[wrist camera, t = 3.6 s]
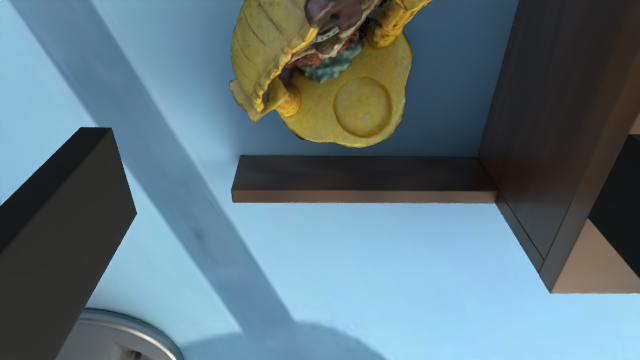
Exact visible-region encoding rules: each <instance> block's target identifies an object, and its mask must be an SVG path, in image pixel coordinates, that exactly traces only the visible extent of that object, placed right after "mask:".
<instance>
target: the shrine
mask: <svg viewBox="0 0 640 360" xmlns="http://www.w3.org/2000/svg"><path fill="white" fill-rule="evenodd" d="M430 1H431V0H244V4H243V6H242V8H241V10H240V13H239V16H238V18H237V22H236V23H237V24H236V26H235V28H234V32H233V37H232V45H231V53H232V55H231V59H232V66H233V70H234V73H235V75H236V78H237V79H234V80H231V81H230V82H229V87H230V88H229V89H230V90H231V91H232V92H233V95H234V99H235V101H236V103H237V104H238V105H239V106H241V107H242V108H243V109H244V110H245V111H246V112H247V113H248V115H249V118H250V120H251V121H252V122H256V121H258V120H260V119H261V117H262V116H264V115H265V114H267V113H268V112H269V111H272V110H273V109H275V110H276V111H277V112H278V114H279V115H280V117H281V118H282V120H283V122H284V124H285V125H286V127H287V128H289V129H290V130H291V131H292V132H294V133H295V134H296V136H297V137H299V138H300V139H303V140H308V141H313V142H321V143H324V142H325V143H327V142H329V143H331V142H334V143H337V144H340V145H343V146H346V147H349V148H351V147H357V148H364V147H367V146H369V145H373V144H374V145H376V143H378V142H380V141H384V140H385V139H387V138H388V137H389V136H390V135H391V134H392V133H393V132H394V130H395V129H396V127H397V126H398V124H399V123H400V121H401V120H402V118H403V115H404V107H405V105H406V102H405V100H406V94H405V93H406V89H405V86H406V83H407V81H408V80H407V78H408V74H409V72H410V68H411V65H412V55H413V51H412V48H411V45H410V43H409V41H408V40H407V38H406V36H405V34H404V31H403V28H404V25H405V24H406V23H408V22H409V21H410V20H411V19H412V18H413V16H414V15H415V14H416V13H417V12H418V10H420V8H422V7H425V6H426V5H427V4H428V2H430ZM367 16H368V17H369V24H368V25H365V24H364V23H363V22H364V21H365V19H366V17H367ZM358 27H360V28H361V29H362V30H363V38H362V39H361V38H360V37H359V33H360V32H359V30H358ZM304 55H305V56H304Z"/></svg>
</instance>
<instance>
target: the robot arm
mask: <svg viewBox="0 0 640 360" xmlns="http://www.w3.org/2000/svg"><path fill="white" fill-rule="evenodd" d="M136 215H137V212H136V208H135V205H134V202H133V198H132V195H131V191H130V188H129V185H128V181H127V178H126V174H125V171H124V168H123V164H122V161H121V158H120V154H119V151H118V147H117V144H116V141H115V137H114V134H113V130H112V128H100V127H80V128H79V129H78V130H77V131H76V132H75V133H74V134H73V135H72V136H71V137H70V138H69V139H68V140H67V141H66V142H65V143H64V144H63V145H62V146H61V147H60V148H59V149H58V150H57V151H56V152H55V153H54V154H53V155H52V156H51V157H50V158H49V159H48V160H47V161H46V162H45V163H44V164H43V165H42V166H41V167H40V168H39V169H38V170H37V171H36V172H35V173H34V174H33V175H32V176H31V177H30V178H29V179H28V180H27V181H26V182H25V183H24V184H22V185H21V186H20V187H19V188H18V189H17V190H16V191H15V192H14V193H13V194H12V195H11V196H10V197H9V198H8V199H7V200H6V201H5V202H4V203H3V204H2V205H1V206H0V360H184V357H183V355H182V353H181V351H180V350H179V348H178V347H177V346H176V345H175V343H174V342H173V341H172V340H171V339H169V338H168V337H167V336H166V335H165V334H163V333H162V332H160V331H159V330H157V329H156V328H154V327H152V326H150V325H148V324H146V323H144V322H142V321H139V320H137V319H134V318H131V317H129V316H125V315H122V314H118V313H113V312H108V311H102V310H92V309H84V307H85V306H86V304H87V302H88V300H89V298H90V297H91V295H92V293H93V291H94V289H95V288H96V286H97V284H98V282H99V281H100V279H101V277H102V275H103V273H104V272H105V270H106V268H107V266H108V265H109V263H110V261H111V259H112V257H113V256H114V254H115V252H116V250H117V248H118V247H119V245H120V243H121V241H122V240H123V238H124V236H125V234H126V232H127V231H128V229H129V227H130V225H131V224H132V222H133V220H134V218H135V216H136ZM587 218H588V219H589V220H590V221H591V222H592V224H593V225H594V226H595V227H596V228H597V229H598V231H599V232H600V233H601V234H602V235H603V237H604V238H605V239H606V240H607V241H608V242H609V244H610V245H611V246H612V247H613V248H614V249H615V251H616V252H617V253H618V254H619V255H620V256H621V258H622V259H623V260H624V261H625V262H626V263H627V265H628V266H629V267H630V268H631V269H632V271H633V272H634V273H635V274H636V275H637V276H638V278H639V279H640V134H628V136H627V138H626V140H625V142H624V144H623V146H622V148H621V150H620V152H619V154H618V156H617V158H616V160H615V162H614V164H613V166H612V168H611V170H610V172H609V174H608V176H607V178H606V180H605V182H604V184H603V186H602V188H601V190H600V192H599V194H598V196H597V198H596V200H595V202H594V204H593V206H592V209H591V211H590V213H589V215H588V217H587Z"/></svg>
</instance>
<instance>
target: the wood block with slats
mask: <svg viewBox="0 0 640 360" xmlns="http://www.w3.org/2000/svg"><path fill="white" fill-rule="evenodd" d="M628 134H640V0H519V4H518V8H517V11H516V15H515V19H514V23H513V26H512V30H511V34H510V37H509V41H508V45H507V48H506V52H505V56H504V60H503V63H502V67H501V71H500V74H499V78H498V82H497V85H496V89H495V93H494V97H493V100H492V104H491V108H490V111H489V115H488V119H487V122H486V126H485V130H484V134H483V137H482V141H481V145H480V148H479V152H478V156H477V157H392V156H246V155H241V156H240V159H239V163H238V166H237V170H236V174H235V177H234V181H233V185H232V188H231V194H232V201H233V202H234V203H484V204H494V203H495V204H496V205H497V207H498V209H499V210H500V212H501V214H502V215H503V217H504V219H505V220H506V222H507V223H508V225H509V227H510V228H511V230H512V232H513V233H514V235H515V237H516V238H517V240H518V241H519V243H520V245H521V246H522V248H523V250H524V251H525V253H526V255H527V256H528V258H529V259H530V261H531V263H532V264H533V266H534V268H535V269H536V271H537V273H538V274H539V276H540V278H541V280H542V281H543V283H544V285H545V286H546V288H547V290H548V291H549V293H550V294H640V279H639V278H638V276H637V275H636V274H635V273H634V272H633V271H632V269H631V268H630V267H629V266H628V265H627V263H626V262H625V261H624V260H623V259H622V258H621V256H620V255H619V254H618V253H617V252H616V251H615V249H614V248H613V247H612V246H611V245H610V244H609V242H608V241H607V240H606V239H605V238H604V237H603V235H602V234H601V233H600V232H599V231H598V229H597V228H596V227H595V226H594V225H593V224H592V222H591V221H590V220H589V219H588V218H587V217H588V215H589V213H590V211H591V209H592V206H593V204H594V202H595V200H596V198H597V196H598V194H599V192H600V190H601V188H602V186H603V184H604V182H605V180H606V178H607V176H608V174H609V172H610V170H611V168H612V166H613V164H614V162H615V160H616V158H617V156H618V154H619V152H620V150H621V148H622V146H623V144H624V142H625V140H626V138H627V136H628Z"/></svg>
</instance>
